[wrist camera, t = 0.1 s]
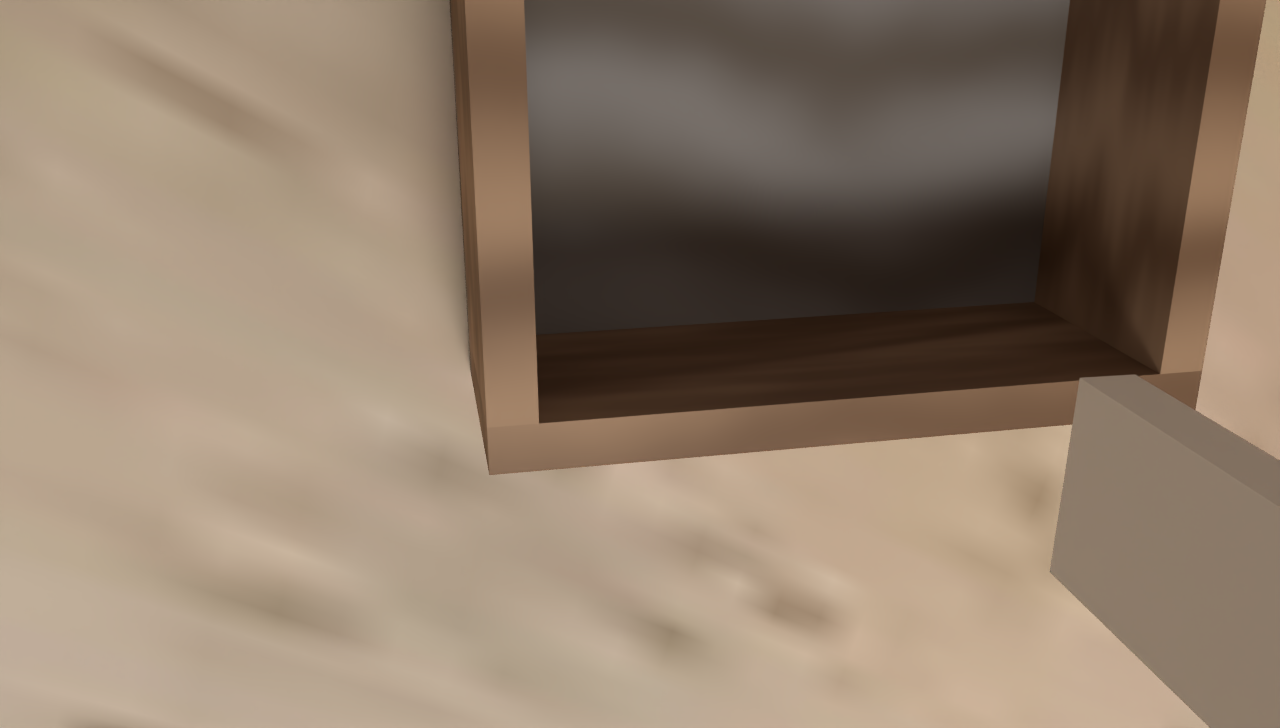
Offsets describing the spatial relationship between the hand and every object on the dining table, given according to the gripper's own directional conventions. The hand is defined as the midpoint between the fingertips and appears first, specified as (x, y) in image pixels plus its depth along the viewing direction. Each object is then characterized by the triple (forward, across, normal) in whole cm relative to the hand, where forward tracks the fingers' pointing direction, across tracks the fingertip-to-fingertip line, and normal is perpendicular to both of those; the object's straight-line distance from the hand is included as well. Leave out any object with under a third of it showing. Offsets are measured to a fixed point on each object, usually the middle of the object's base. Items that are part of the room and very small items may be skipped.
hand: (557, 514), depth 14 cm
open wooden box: (+28, +12, +3) cm, 30 cm away
